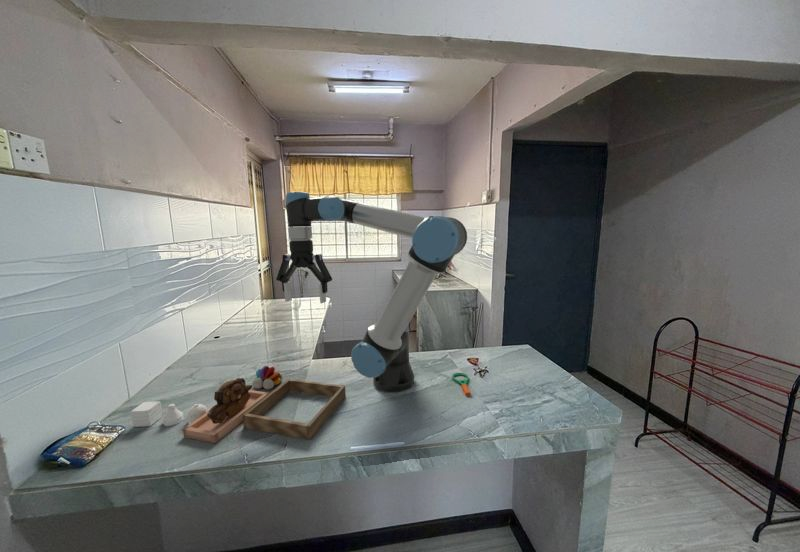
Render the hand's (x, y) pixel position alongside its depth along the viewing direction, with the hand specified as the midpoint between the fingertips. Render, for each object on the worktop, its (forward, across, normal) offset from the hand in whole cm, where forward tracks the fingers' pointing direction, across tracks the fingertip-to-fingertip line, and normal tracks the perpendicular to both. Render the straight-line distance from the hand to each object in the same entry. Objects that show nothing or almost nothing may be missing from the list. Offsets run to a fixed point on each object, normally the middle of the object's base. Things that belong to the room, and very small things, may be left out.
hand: (305, 301), depth 108 cm
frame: (+32, -4, +14) cm, 35 cm away
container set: (+32, +31, +28) cm, 52 cm away
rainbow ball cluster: (+32, +17, +2) cm, 36 cm away
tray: (+32, +15, +22) cm, 41 cm away
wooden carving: (+31, +14, +22) cm, 40 cm away
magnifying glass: (+32, -53, -14) cm, 63 cm away
